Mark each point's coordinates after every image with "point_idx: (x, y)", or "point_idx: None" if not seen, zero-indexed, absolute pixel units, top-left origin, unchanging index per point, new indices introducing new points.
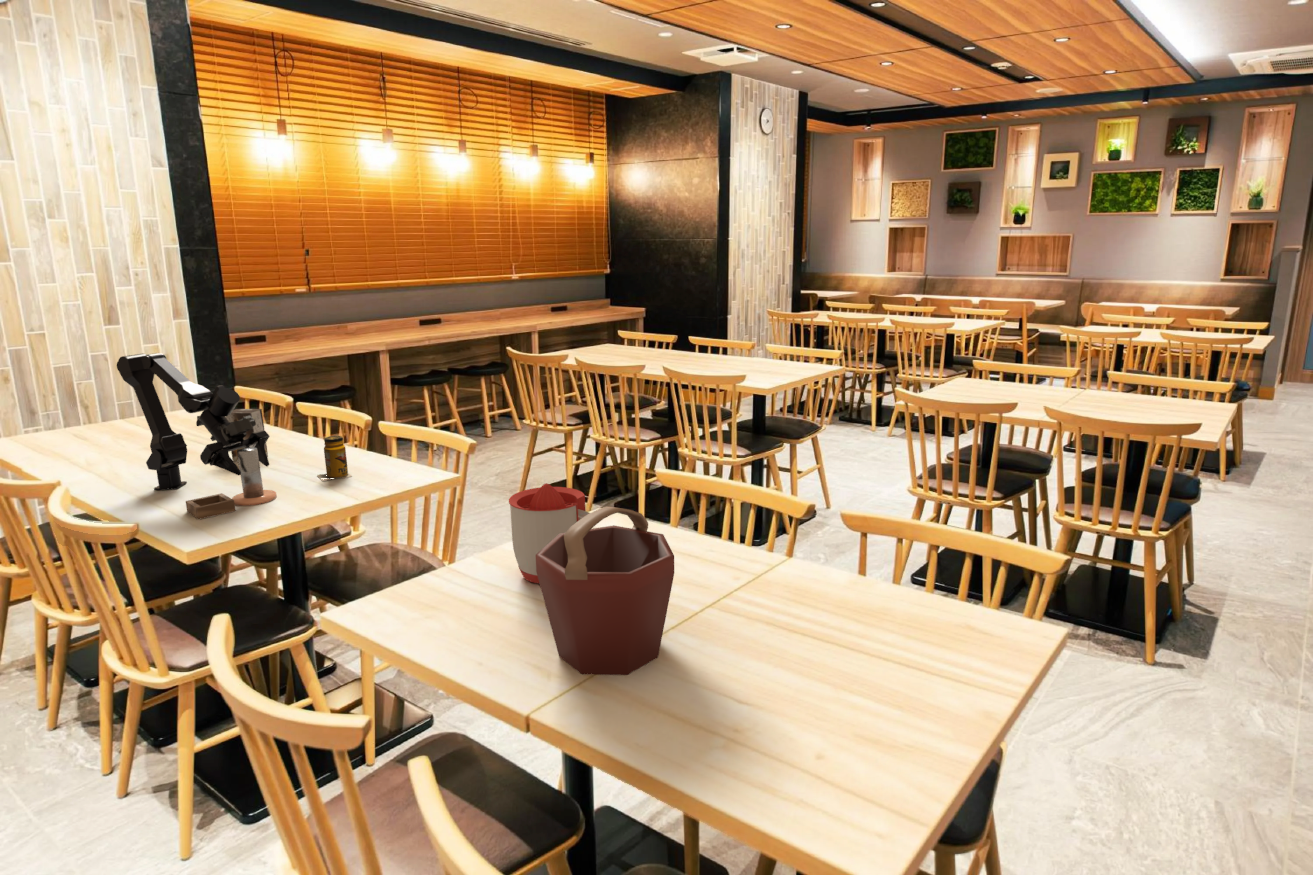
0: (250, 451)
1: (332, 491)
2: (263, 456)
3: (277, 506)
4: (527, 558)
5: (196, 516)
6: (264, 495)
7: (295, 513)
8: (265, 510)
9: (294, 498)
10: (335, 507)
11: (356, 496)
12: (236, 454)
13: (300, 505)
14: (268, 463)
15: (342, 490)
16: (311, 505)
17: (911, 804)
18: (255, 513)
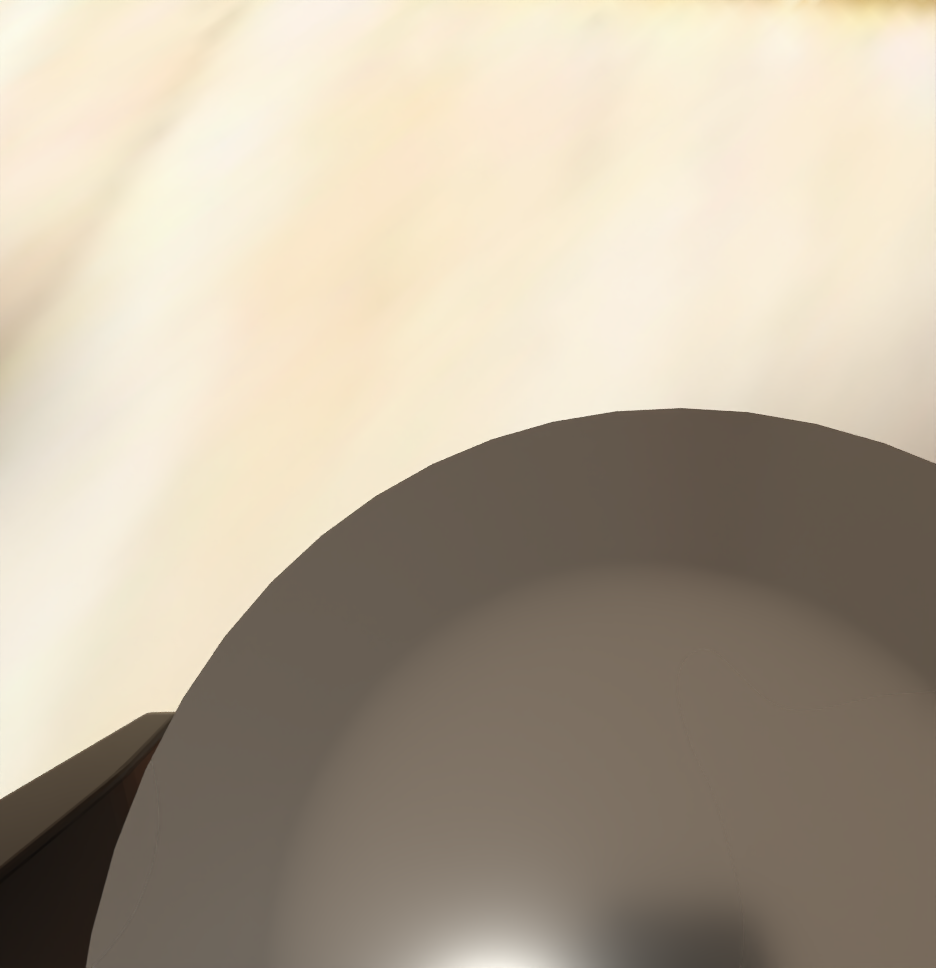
0: (839, 441)
1: (73, 299)
2: (32, 870)
3: (645, 389)
4: None
5: None
6: None
7: (704, 121)
8: (797, 392)
9: (369, 444)
10: (450, 6)
11: (167, 62)
12: None
13: (523, 236)
14: (160, 714)
15: (30, 249)
16: (483, 165)
17: None
18: (919, 404)
